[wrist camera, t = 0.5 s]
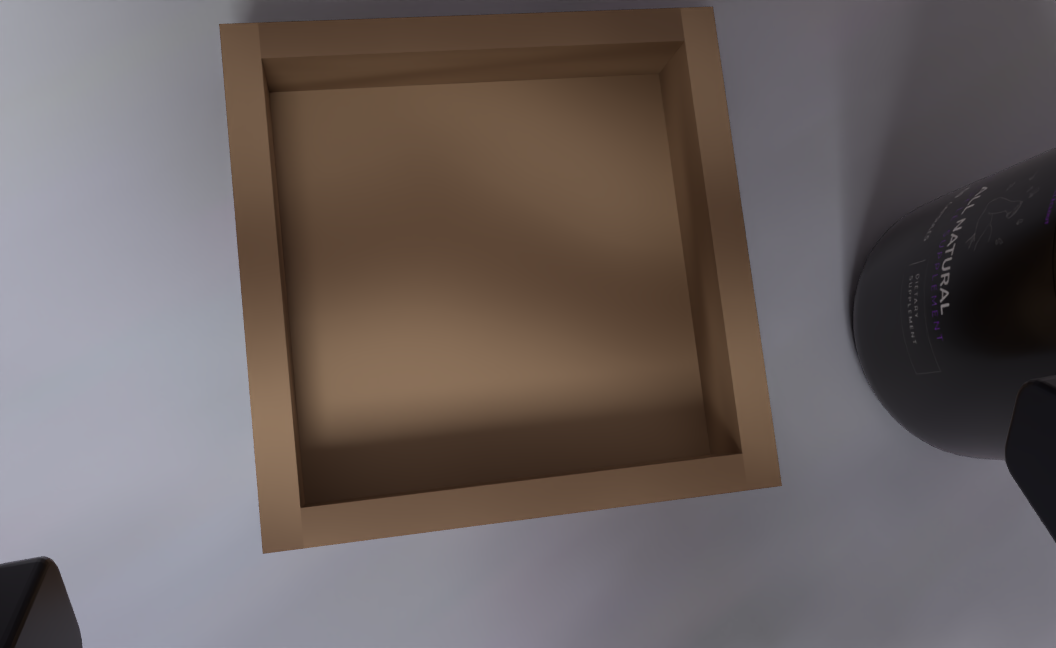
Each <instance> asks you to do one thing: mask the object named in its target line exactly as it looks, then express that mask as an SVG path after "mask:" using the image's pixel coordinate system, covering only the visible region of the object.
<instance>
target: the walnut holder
mask: <svg viewBox="0 0 1056 648" xmlns="http://www.w3.org/2000/svg"><path fill="white" fill-rule="evenodd" d="M219 26H220V38H221V50H222V62H223V75H224V87H225V99H226V111H227V123H228V135H229V147H230V160H231V172H232V184H233V196H234V208H235V220H236V232H237V245H238V257H239V269H240V281H241V293H242V305H243V318H244V330H245V342H246V354H247V366H248V378H249V390H250V403H251V415H252V427H253V439H254V451H255V463H256V475H257V488H258V500H259V512H260V524H261V536H262V548H263V554H264V553H272V552H280V551H287V550H295V549H303V548H310V547H318V546H325V545H333V544H341V543H348V542H356V541H364V540H371V539H379V538H387V537H394V536H402V535H410V534H417V533H425V532H433V531H440V530H448V529H455V528H463V527H471V526H478V525H486V524H494V523H501V522H509V521H517V520H524V519H532V518H540V517H547V516H555V515H562V514H570V513H578V512H585V511H593V510H601V509H608V508H616V507H624V506H631V505H639V504H647V503H654V502H662V501H669V500H677V499H685V498H692V497H700V496H708V495H715V494H723V493H731V492H738V491H746V490H754V489H761V488H769V487H776V486H782V484H781V477H780V470H779V463H778V456H777V449H776V442H775V435H774V428H773V421H772V414H771V407H770V400H769V393H768V386H767V379H766V372H765V365H764V359H763V352H762V345H761V338H760V331H759V324H758V317H757V310H756V303H755V296H754V289H753V282H752V275H751V268H750V261H749V254H748V247H747V240H746V233H745V226H744V219H743V213H742V206H741V199H740V192H739V185H738V178H737V171H736V164H735V157H734V150H733V143H732V136H731V129H730V122H729V115H728V108H727V101H726V94H725V87H724V80H723V73H722V67H721V60H720V53H719V46H718V39H717V32H716V25H715V18H714V11H713V7H689V8H660V9H632V10H604V11H575V12H547V13H518V14H490V15H462V16H433V17H405V18H377V19H348V20H320V21H291V22H263V23H235V24H219Z"/></svg>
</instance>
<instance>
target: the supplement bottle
mask: <svg viewBox="0 0 1056 648" xmlns="http://www.w3.org/2000/svg"><path fill="white" fill-rule="evenodd" d="M853 328H854V338H855V344H856V349H857V353H858V357H859V361H860V363H861V366H862V369H863V372H864V374H865V376H866V378H867V381H868V383H869V385H870V386H871V388H872V390H873V392H874V393H875V395H876V397H877V398H878V400H879V401H880V402H881V404H882V405H883V407H884V408H885V409H886V410H887V411H888V412H889V414H890V415H891V416H892V417H893V418H894V419H895V420H896V421H897V422H898V423H899V424H900V425H901V426H903V427H904V428H905V429H906V430H908V431H909V432H910V433H911V434H913V435H914V436H916V437H917V438H919V439H920V440H922V441H924V442H926V443H928V444H930V445H931V446H933V447H935V448H938V449H940V450H943V451H945V452H948V453H952V454H955V455H959V456H965V457H971V458H978V459H994V460H1005V444H1006V439H1007V435H1008V431H1009V427H1010V423H1011V418H1012V414H1013V410H1014V406H1015V402H1016V398H1017V394H1018V391H1019V389H1020V388H1021V387H1022V385H1023V384H1024V383H1025V382H1027V381H1029V380H1031V379H1036V378H1041V377H1047V376H1052V375H1056V148H1054V149H1051V150H1049V151H1047V152H1044V153H1042V154H1040V155H1037V156H1035V157H1033V158H1030V159H1028V160H1026V161H1023V162H1021V163H1019V164H1016V165H1014V166H1012V167H1009V168H1007V169H1005V170H1002V171H1000V172H998V173H995V174H993V175H991V176H988V177H986V178H984V179H981V180H979V181H977V182H974V183H972V184H970V185H967V186H965V187H963V188H960V189H958V190H956V191H953V192H951V193H949V194H946V195H944V196H942V197H940V198H938V199H936V200H934V201H931V202H929V203H927V204H925V205H923V206H921V207H919V208H917V209H915V210H914V211H912V212H910V213H909V214H907V215H906V216H904V217H903V218H901V219H900V220H899V221H897V222H896V223H895V224H894V225H893V226H892V227H891V228H890V229H889V230H888V231H887V232H886V233H885V234H884V235H883V236H882V238H881V239H880V240H879V241H878V243H877V244H876V246H875V247H874V248H873V250H872V251H871V253H870V255H869V257H868V259H867V260H866V262H865V265H864V267H863V269H862V272H861V275H860V278H859V281H858V284H857V289H856V293H855V299H854V308H853Z"/></svg>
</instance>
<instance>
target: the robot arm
mask: <svg viewBox="0 0 1056 648" xmlns="http://www.w3.org/2000/svg"><path fill="white" fill-rule="evenodd" d="M1005 460H1006V464H1007V467H1008V469H1009V472H1010V474H1011V475H1012V477H1013V478H1014V480H1015V481H1016V483H1017V484H1018V486H1019V488H1020V489H1021V491H1022V492H1023V494H1024V495H1025V497H1026V498H1027V500H1028V501H1029V503H1030V504H1031V506H1032V507H1033V509H1034V510H1035V512H1036V513H1037V515H1038V516H1039V518H1040V519H1041V521H1042V522H1043V524H1044V525H1045V527H1046V528H1047V530H1048V532H1049V533H1050V535H1051V536H1052V538H1053V539H1054V541H1055V542H1056V375H1052V376H1047V377H1041V378H1036V379H1031V380H1029V381H1027V382H1025V383H1024V384H1023V385H1022V387H1021V388H1020V389H1019V391H1018V394H1017V398H1016V402H1015V406H1014V410H1013V414H1012V418H1011V423H1010V427H1009V431H1008V435H1007V439H1006V444H1005ZM0 648H82V638H81V633H80V629H79V625H78V622H77V620H76V617H75V614H74V611H73V608H72V605H71V603H70V600H69V597H68V594H67V591H66V588H65V585H64V583H63V580H62V577H61V574H60V571H59V569H58V567H57V565H56V564H55V562H54V561H53V560H52V559H50V558H48V557H45V556H41V557H36V558H30V559H25V560H19V561H13V562H8V563H3V564H0Z"/></svg>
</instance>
